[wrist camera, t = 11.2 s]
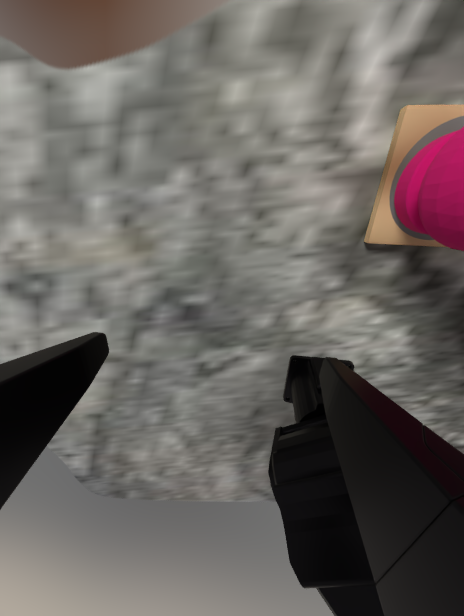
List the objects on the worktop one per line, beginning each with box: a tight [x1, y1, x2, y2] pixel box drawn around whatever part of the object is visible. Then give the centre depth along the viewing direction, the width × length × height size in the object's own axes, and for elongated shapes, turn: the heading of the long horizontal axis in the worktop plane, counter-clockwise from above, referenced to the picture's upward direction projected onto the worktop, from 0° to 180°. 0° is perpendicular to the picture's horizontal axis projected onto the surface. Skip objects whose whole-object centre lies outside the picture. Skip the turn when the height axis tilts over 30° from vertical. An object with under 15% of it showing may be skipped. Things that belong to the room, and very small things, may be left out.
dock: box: [364, 105, 464, 247], centre depth 16 cm, size 8×8×1 cm
